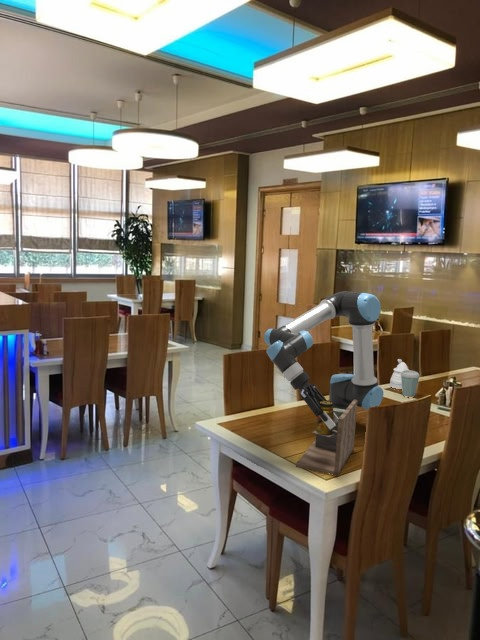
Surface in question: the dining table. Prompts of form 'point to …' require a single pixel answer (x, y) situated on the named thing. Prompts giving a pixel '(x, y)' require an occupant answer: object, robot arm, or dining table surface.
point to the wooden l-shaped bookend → (332, 444)
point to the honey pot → (398, 375)
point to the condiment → (321, 426)
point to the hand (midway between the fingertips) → (335, 424)
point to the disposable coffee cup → (409, 382)
